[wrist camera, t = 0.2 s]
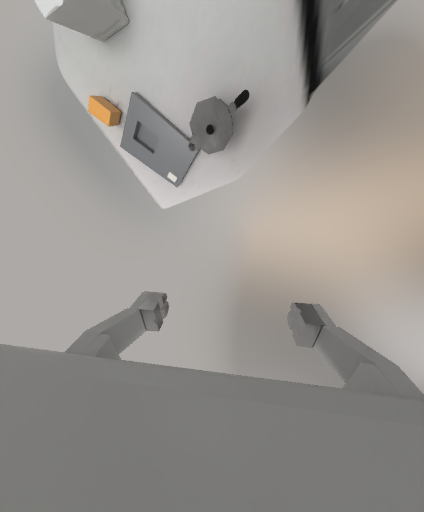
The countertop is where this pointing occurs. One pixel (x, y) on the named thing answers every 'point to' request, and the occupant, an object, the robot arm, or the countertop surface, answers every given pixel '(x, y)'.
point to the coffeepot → (213, 123)
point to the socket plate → (156, 141)
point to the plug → (104, 110)
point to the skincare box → (86, 15)
